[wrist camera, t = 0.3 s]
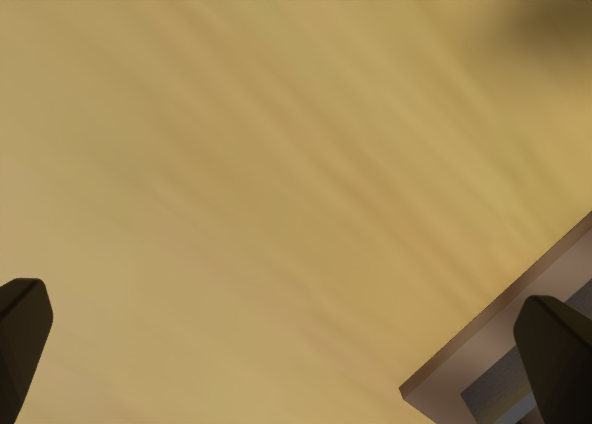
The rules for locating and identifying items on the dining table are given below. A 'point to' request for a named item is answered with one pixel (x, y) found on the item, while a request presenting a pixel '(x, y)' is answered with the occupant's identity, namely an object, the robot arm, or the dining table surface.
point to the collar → (512, 379)
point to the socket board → (497, 331)
